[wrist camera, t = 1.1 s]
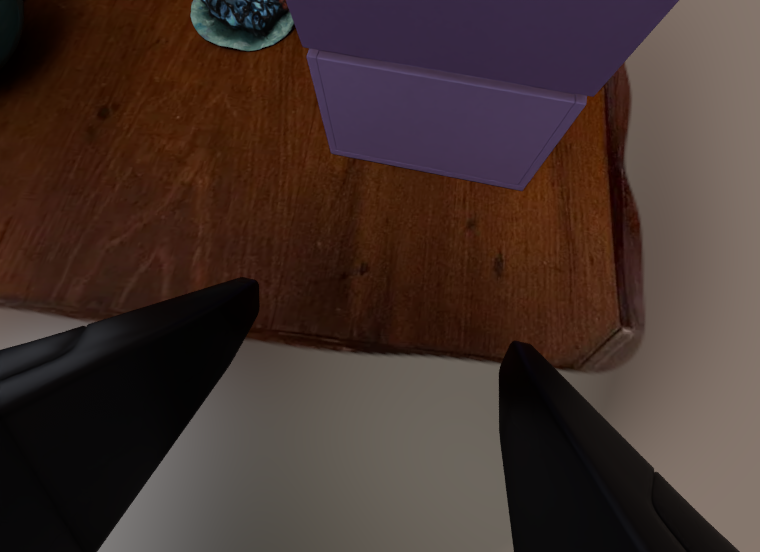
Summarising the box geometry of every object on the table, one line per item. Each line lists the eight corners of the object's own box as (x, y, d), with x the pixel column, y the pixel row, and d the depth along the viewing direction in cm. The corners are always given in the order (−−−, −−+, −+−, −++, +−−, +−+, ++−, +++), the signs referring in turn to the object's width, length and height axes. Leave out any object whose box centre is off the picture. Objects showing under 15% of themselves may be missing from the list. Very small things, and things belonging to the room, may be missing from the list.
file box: (522, 191, 22) (597, 90, 14) (330, 153, 24) (301, 40, 16) (546, 20, 26) (615, -133, 18) (381, -5, 27) (379, -161, 19)
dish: (152, 3, 24) (195, -120, 21) (199, 16, 30) (238, -78, 27) (254, 84, 27) (306, -15, 24) (279, 81, 33) (323, 2, 30)
